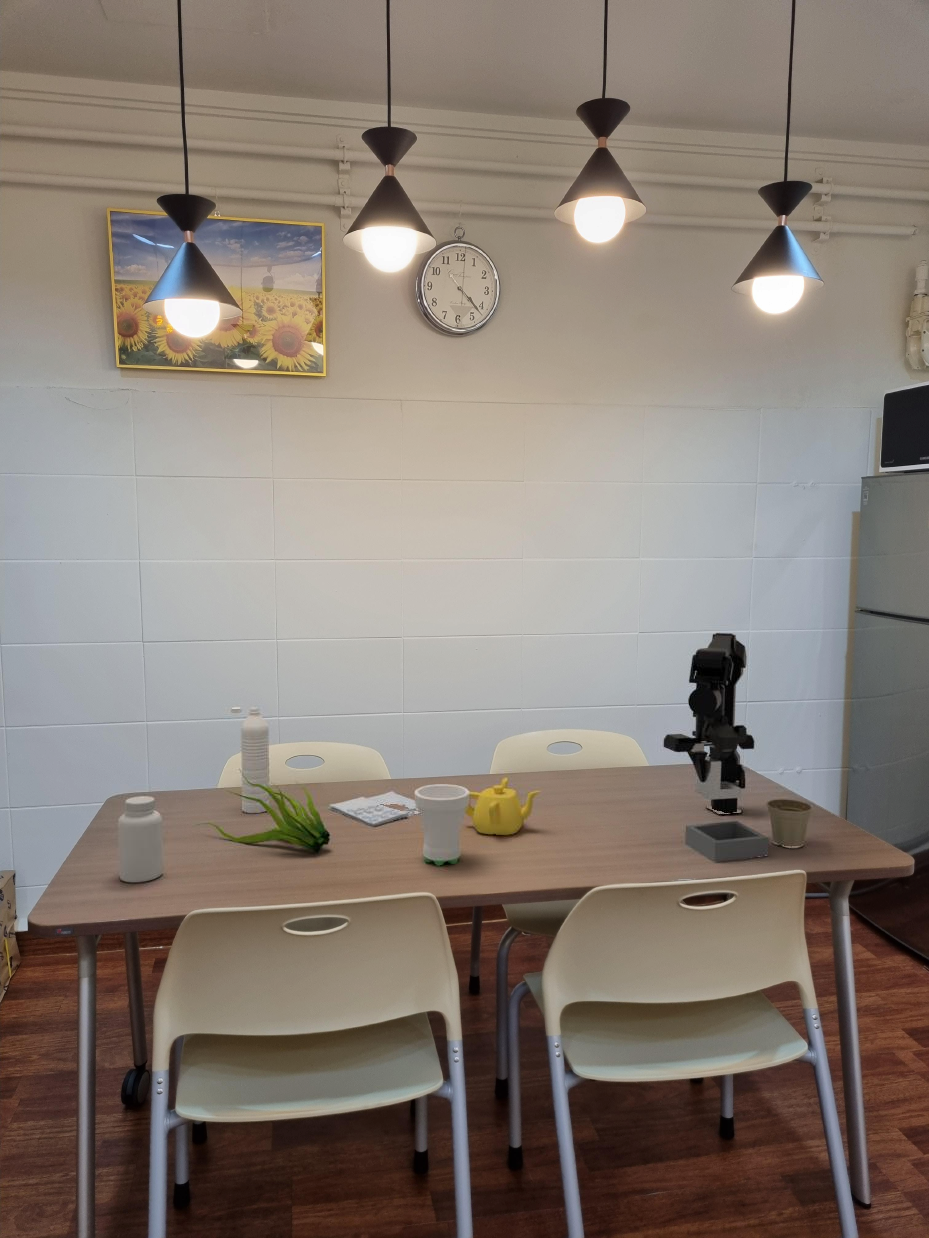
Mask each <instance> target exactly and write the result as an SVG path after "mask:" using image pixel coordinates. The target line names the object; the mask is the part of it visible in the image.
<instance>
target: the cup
mask: <svg viewBox="0 0 929 1238" xmlns="http://www.w3.org/2000/svg"><path fill="white" fill-rule="evenodd" d="M469 791H470V790H469V789H467V788H466V787H464V786H461V785H456V784H446V783H445V784H443V783H440V784H439V783H437V784H427V785H423V786H421V787H419V788H417V789H415V791H414V800H415V805H416V806H417V808H418V810H419V813H420V814H419V815H420V819H421V822H422V828H423V837H424V838H423V839H424V843H423V846H422V851H423V852H422V853H423V854H422V855H423V859H424V862H425V863H432V862H434V864H435V866H438V867H440V865H441V866H442V865H444V863H446V862H447V863H449V864H451V865H455V864H456V863H457V862H458V860H459V859H460V856H461V853H462V850H461V849H462V847H461V846H462V845H461V843H460V837H461V836H460V834H461V829H462V823H463V820H464V816H465V814H466V813H465V811H466V808H467V807H468V805H469V796H470V792H471V791H470V792H469Z"/></svg>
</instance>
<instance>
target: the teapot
mask: <svg viewBox="0 0 929 1238" xmlns="http://www.w3.org/2000/svg"><path fill="white" fill-rule="evenodd" d="M469 792H470V796H469V805H468V807H467V808H466V811H465V814H466V815H468V817H470V818H471V819H472V823H473V826H474V828H475V829H476V831H477V832H478V833H480V834H485V835H493V834H496V835H495V836H510V834H511V835H514V834H515V833H517V832H519V830H520V829H521V827H522V826H523V824H524V821H525V820H526V819H528V818H529V816H530V815H531V813H532V809H533V802H534V798H535V796H536V795H537V794H538V793H540V792H541V790H533V791H531V792H529V793H528V795H527V798H526V803H525V806H523V807H522V804H521V801H520V799H519V796H518V794H517V791H516V790H515V789H512V788H508V777H504V778H502V780H501V784H495V785H493V786H492V787H489V788H484V789H483V790H482V791H481V792H478V791H470V790H469ZM472 799H477V801H476V803H475V806H474V807H473V806H471V802H472Z"/></svg>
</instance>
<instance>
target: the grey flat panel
mask: <svg viewBox="0 0 929 1238" xmlns="http://www.w3.org/2000/svg"><path fill="white" fill-rule="evenodd" d="M380 804H384V805H386V804H387V805H390V804H398V805H401V806H405V807H408V808H409V809H405V810H418V808H417V806H416V805H415V799H413V798H412V799H411V798H409V797H406V796H403V795H401V794H398V793H396V792H394V791H393V790H392V791H389V792H386V793H383V794H380V795H375V796H370V797H364V796H359V797H357V798H354V799H353V798H352V799H349V800H345V801H342V802H337V803H332V804H331V803H330V804H328V806H329V807H328V810H331V809H332V810H331V811H333V810H335V811H337V812H336V813H338V812H339V813H338V814H340V813H341V815H343V814H344V815H343V816H345V815H347V816H346V817H349V818H351V819H353V818H354V819H353V820H355V819H356V821H358V822H360V823H362V824H365V825H368V826H371V827H377V826H381V825H384V824H387V822H388V823H392V822H395V821H394V820H396V821H398V820H397V819H399V820H402V819H401V818H403V819H406V818H405V817H407V816H411V815H413V814H418V813H419V812H418V811H405V810H404V811H400V810H397V809H393V808H389V807H386V806H383V805H380ZM335 811H334V812H335ZM408 812H409V813H408ZM418 815H419V814H418ZM407 818H408V817H407ZM391 821H392V822H391Z"/></svg>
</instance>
